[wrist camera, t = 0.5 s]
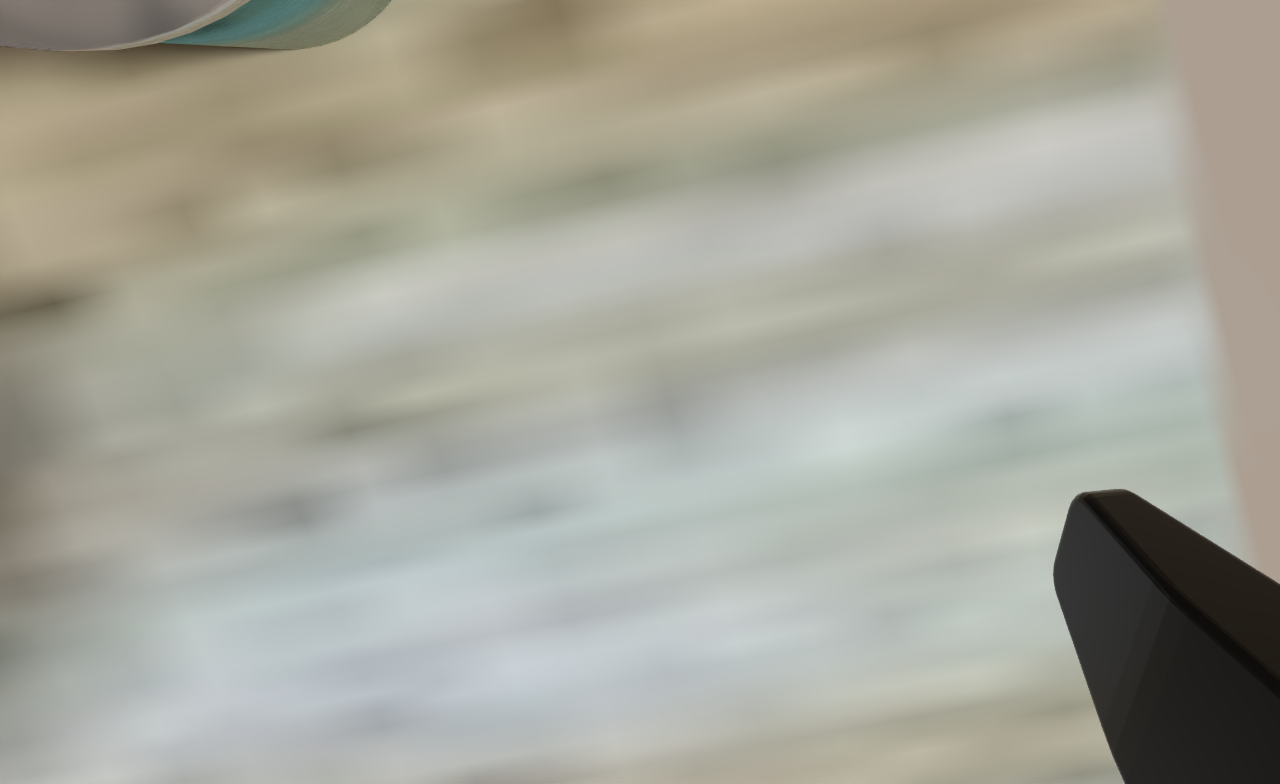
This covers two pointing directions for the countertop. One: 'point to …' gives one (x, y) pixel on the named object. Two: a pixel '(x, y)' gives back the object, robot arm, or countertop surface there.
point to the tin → (180, 23)
